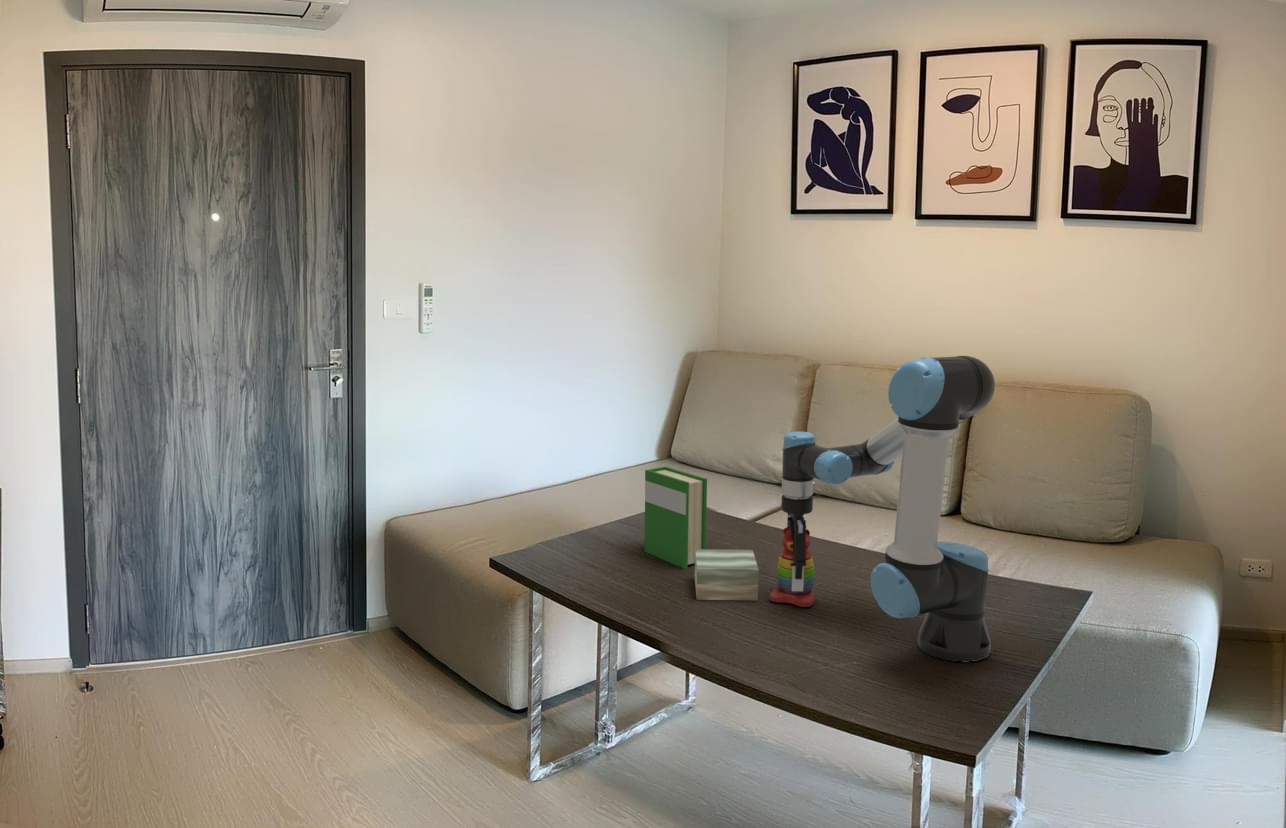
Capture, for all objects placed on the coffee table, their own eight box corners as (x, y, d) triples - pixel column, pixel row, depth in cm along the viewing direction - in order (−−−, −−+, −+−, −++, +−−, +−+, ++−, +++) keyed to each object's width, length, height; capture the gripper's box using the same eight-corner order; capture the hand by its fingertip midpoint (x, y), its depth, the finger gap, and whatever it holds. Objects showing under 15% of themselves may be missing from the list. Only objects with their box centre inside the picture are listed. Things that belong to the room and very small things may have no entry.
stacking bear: (766, 600, 232) (768, 530, 229) (780, 588, 241) (782, 520, 238) (809, 608, 227) (811, 537, 224) (821, 595, 236) (824, 526, 233)
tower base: (757, 600, 233) (758, 569, 232) (696, 599, 233) (697, 568, 232) (751, 579, 248) (752, 549, 247) (694, 578, 248) (695, 549, 247)
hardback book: (705, 563, 260) (707, 478, 256) (684, 569, 255) (686, 482, 251) (664, 547, 274) (665, 466, 269) (644, 552, 269) (645, 470, 265)
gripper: (820, 507, 219) (817, 599, 223) (805, 484, 241) (803, 568, 244) (787, 507, 219) (785, 599, 223) (776, 484, 241) (773, 568, 245)
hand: (794, 583), depth 234 cm, fingers closed on stacking bear, 9 cm apart
